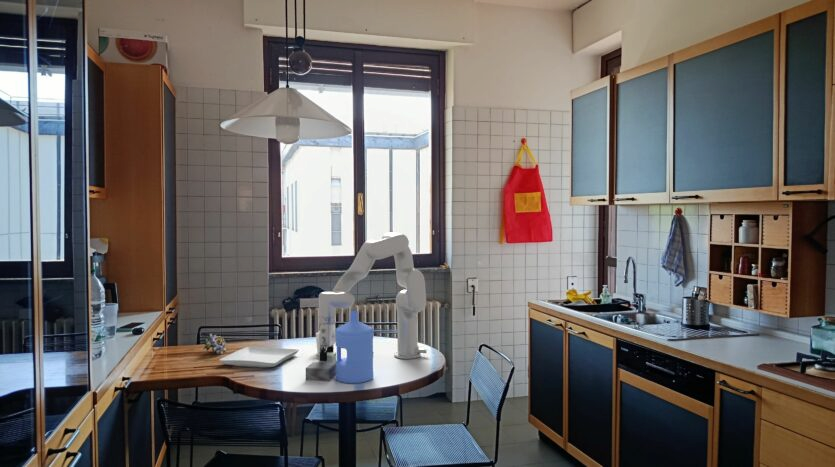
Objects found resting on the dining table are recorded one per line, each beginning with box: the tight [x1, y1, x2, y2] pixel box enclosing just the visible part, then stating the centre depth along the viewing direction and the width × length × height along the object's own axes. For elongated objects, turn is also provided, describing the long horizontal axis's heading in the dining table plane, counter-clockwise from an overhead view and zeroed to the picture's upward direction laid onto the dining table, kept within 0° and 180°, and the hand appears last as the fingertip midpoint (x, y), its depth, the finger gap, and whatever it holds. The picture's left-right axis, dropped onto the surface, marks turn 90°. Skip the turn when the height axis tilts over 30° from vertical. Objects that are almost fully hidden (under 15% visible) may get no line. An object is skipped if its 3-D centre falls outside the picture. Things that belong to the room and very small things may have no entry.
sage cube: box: [318, 351, 337, 363], centre depth 261 cm, size 6×6×6 cm
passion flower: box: [202, 333, 227, 355], centre depth 286 cm, size 11×11×12 cm
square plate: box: [219, 346, 300, 369], centre depth 272 cm, size 27×27×4 cm
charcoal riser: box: [305, 361, 336, 382], centre depth 245 cm, size 10×10×5 cm
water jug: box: [334, 310, 374, 384], centre depth 243 cm, size 16×16×28 cm
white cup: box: [315, 331, 325, 355], centre depth 286 cm, size 8×8×10 cm
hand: (326, 358), depth 261 cm, fingers open, 9 cm apart
